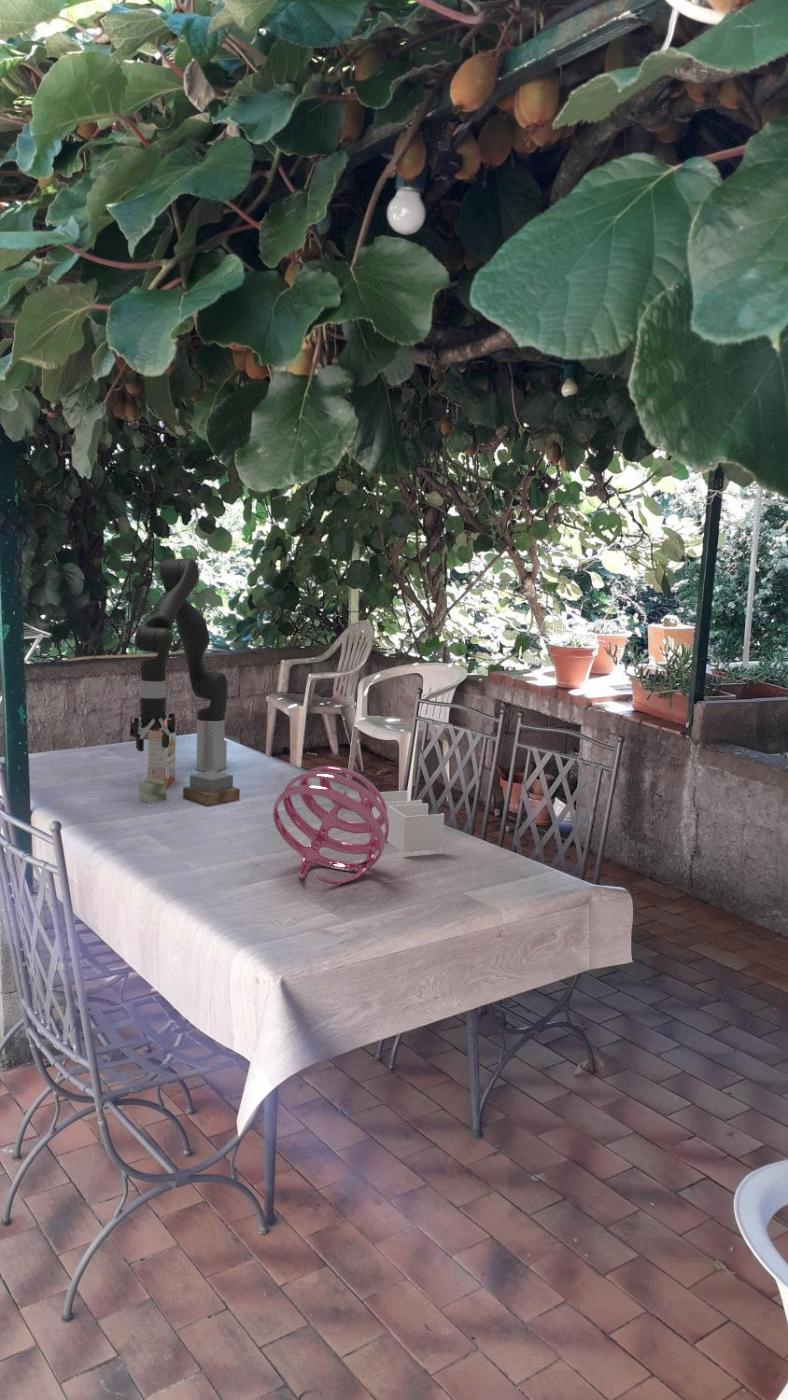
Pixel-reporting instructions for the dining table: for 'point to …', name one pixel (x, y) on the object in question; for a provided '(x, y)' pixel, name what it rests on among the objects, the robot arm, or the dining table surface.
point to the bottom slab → (211, 796)
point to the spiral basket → (334, 820)
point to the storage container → (411, 823)
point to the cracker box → (161, 756)
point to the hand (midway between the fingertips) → (152, 749)
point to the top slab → (211, 781)
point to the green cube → (153, 790)
